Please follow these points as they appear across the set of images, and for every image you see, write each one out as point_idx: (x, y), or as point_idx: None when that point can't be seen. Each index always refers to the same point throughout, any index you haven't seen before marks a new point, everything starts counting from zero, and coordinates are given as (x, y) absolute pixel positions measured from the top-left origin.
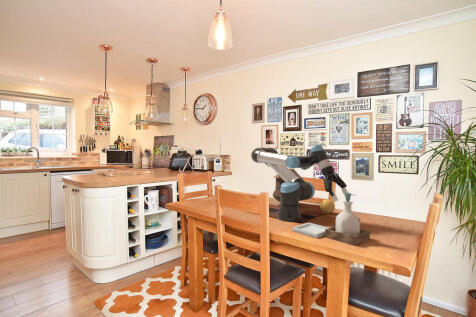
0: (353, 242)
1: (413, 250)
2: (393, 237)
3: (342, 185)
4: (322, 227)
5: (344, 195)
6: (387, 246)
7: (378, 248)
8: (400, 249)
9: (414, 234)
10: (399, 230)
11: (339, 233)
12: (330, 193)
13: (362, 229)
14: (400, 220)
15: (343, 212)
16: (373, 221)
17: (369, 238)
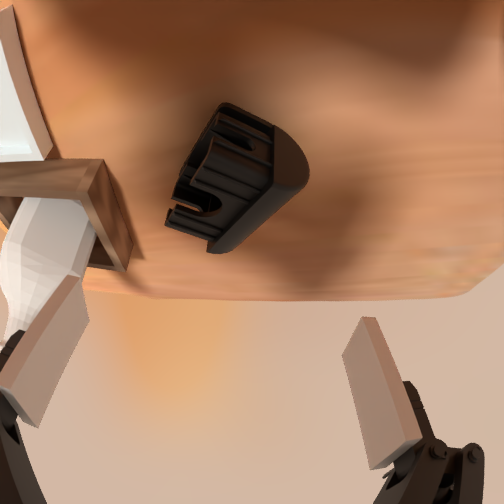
0: None
1: (152, 296)
2: (218, 276)
3: (377, 501)
4: (19, 113)
5: (375, 353)
6: (121, 272)
7: None
8: (131, 285)
9: (302, 298)
10: (325, 280)
11: (7, 226)
12: (2, 364)
13: (113, 259)
14: (471, 273)
15: (7, 300)
16: (434, 223)
17: (131, 245)
